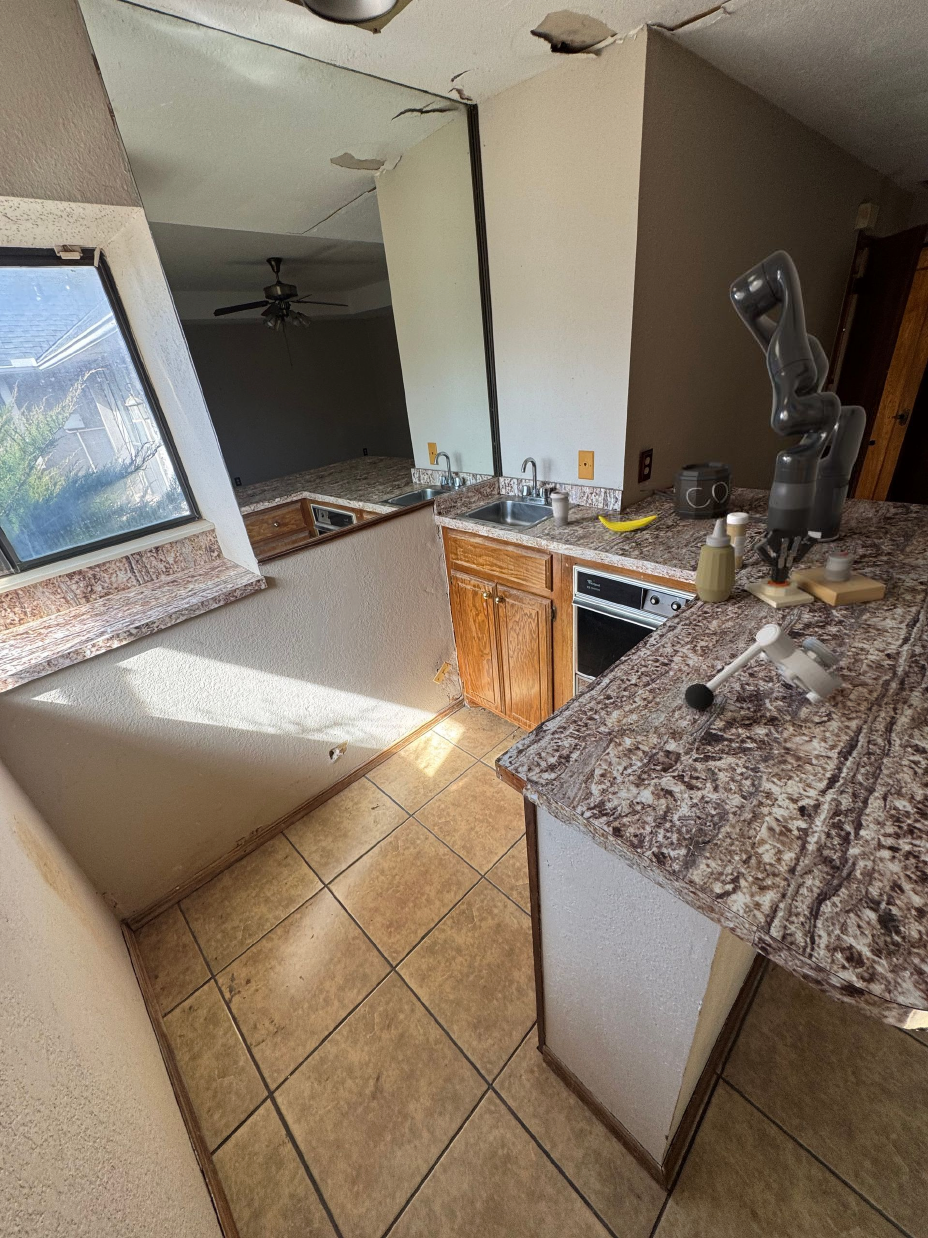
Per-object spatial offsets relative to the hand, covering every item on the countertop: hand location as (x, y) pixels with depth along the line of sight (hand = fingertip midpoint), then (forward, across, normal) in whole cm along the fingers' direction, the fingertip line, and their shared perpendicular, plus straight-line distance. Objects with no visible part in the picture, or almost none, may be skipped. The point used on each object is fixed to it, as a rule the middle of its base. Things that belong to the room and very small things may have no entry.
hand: (778, 582), depth 103 cm
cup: (+4, -28, +80) cm, 85 cm away
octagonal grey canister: (+3, +18, +67) cm, 69 cm away
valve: (+3, -25, -33) cm, 41 cm away
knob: (0, +11, -2) cm, 11 cm away
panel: (+3, +11, -2) cm, 12 cm away
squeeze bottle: (+3, -12, +4) cm, 13 cm away
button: (+2, 0, 0) cm, 2 cm away
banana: (+4, -11, +60) cm, 61 cm away
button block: (+3, 0, 0) cm, 3 cm away
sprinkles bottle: (+3, +1, +19) cm, 19 cm away
